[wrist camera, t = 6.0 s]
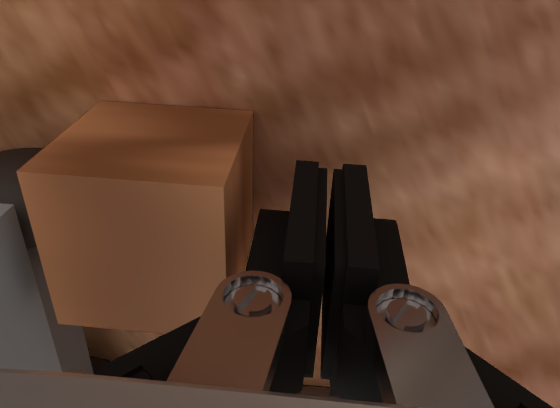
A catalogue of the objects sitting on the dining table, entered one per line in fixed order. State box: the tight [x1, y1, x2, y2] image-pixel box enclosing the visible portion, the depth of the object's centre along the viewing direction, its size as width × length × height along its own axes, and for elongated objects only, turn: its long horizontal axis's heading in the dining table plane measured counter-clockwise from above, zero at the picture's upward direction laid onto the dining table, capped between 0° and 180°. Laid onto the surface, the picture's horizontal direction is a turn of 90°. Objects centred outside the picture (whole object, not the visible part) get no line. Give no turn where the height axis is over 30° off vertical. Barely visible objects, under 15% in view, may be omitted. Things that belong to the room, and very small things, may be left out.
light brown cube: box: [16, 101, 253, 334], centre depth 12 cm, size 4×4×4 cm
